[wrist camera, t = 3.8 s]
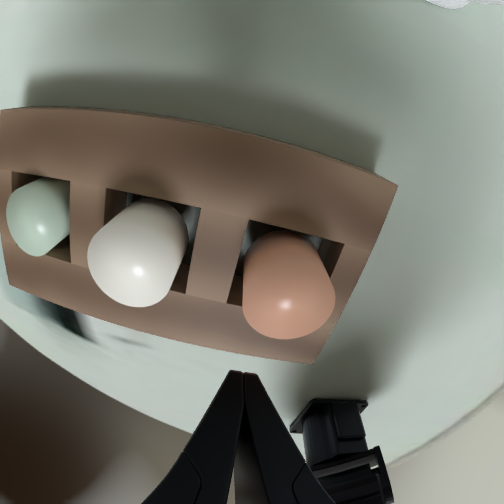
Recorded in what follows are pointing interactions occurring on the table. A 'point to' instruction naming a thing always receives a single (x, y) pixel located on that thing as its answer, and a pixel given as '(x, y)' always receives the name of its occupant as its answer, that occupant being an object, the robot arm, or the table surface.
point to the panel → (194, 194)
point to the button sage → (39, 215)
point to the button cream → (139, 252)
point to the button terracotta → (285, 286)
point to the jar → (462, 3)
